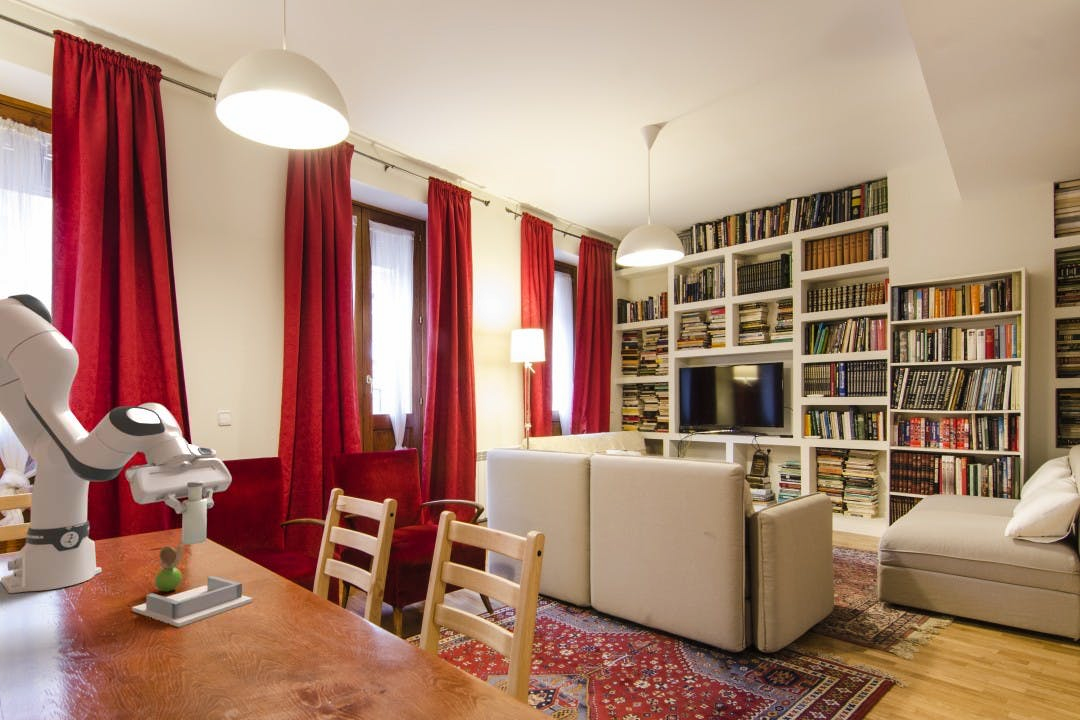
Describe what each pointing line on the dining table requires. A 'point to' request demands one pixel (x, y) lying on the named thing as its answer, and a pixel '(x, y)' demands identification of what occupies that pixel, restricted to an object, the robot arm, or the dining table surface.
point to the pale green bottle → (194, 515)
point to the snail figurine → (169, 569)
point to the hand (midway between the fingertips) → (196, 509)
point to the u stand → (194, 602)
